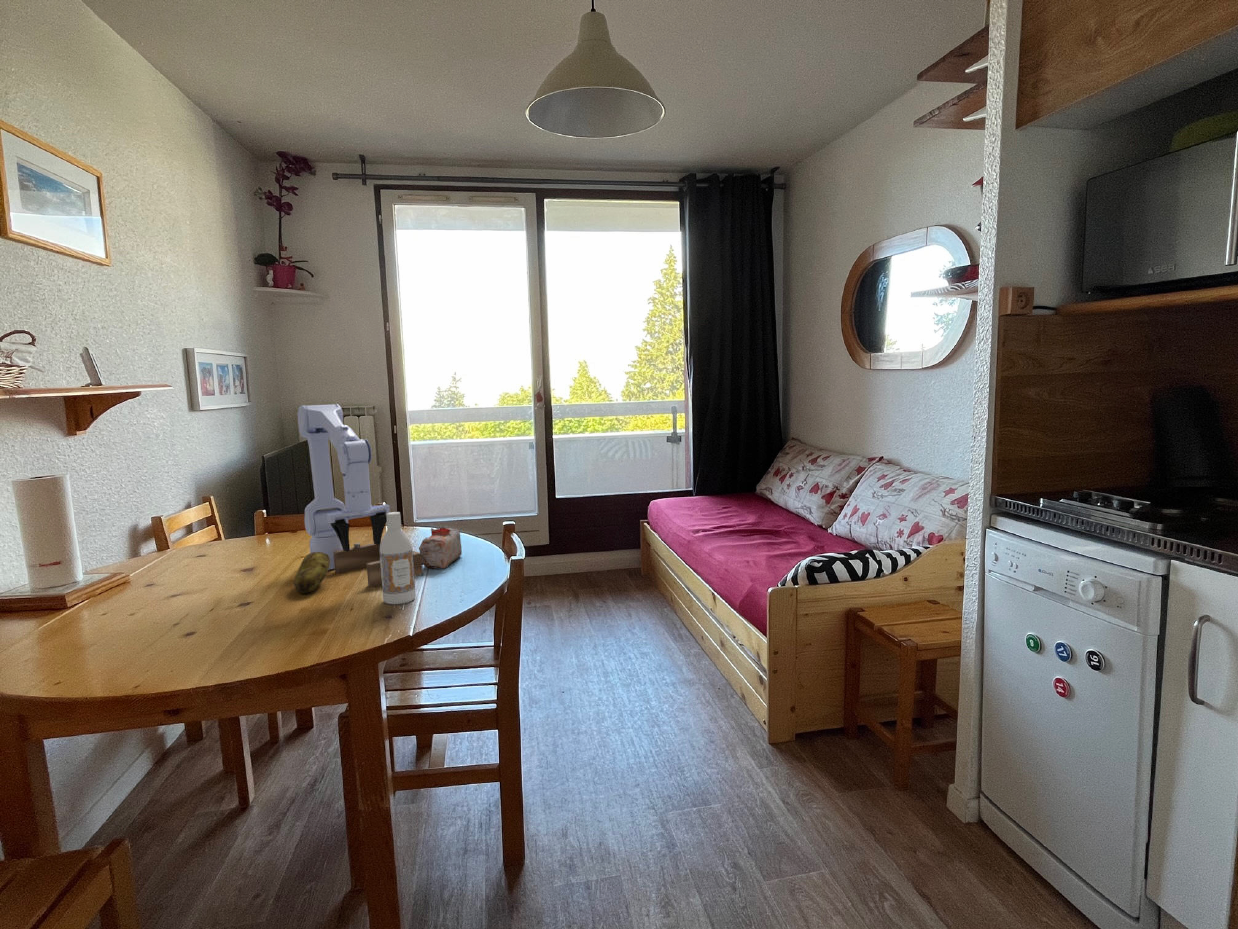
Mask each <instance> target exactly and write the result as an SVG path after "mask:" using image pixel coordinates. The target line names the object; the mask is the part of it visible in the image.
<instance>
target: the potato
mask: <svg viewBox="0 0 1238 929" xmlns="http://www.w3.org/2000/svg"><path fill="white" fill-rule="evenodd" d="M329 566H330V558H329V556H328V554H325V553H323V552H313V553H310V552H309V553H308V554H307V555H306V556H304V557H303V559H302V561H301V563H300V566H299V567H298V570H297V572H296V575H295V579H294V582H293V585H294V589H295V590H296V591H298V592H299V593H302V594H308V593H312V592H313V591H314V590H316V589H317V587H318V586H319V585H320V584H321V583H322V582H323V580H324V578H325V577H326V575H327V573H328V571H329V570H328V569H329Z"/></svg>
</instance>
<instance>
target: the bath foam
mask: <svg viewBox="0 0 1238 929" xmlns="http://www.w3.org/2000/svg"><path fill="white" fill-rule="evenodd" d="M386 516H387V522H386V526H387V530H386V531H385V533H384V535H383V536H382V538H381V544H380V565H381V577H382V585H381V588H382V589H381V590H382V599H383V602H384V603H385V604H388V605H402V604H406V603H410V602H412V601H413V600H415V598H416V582H415V581H416V580H415V576H414V565H413V551H414V550H413V546H412V541H411V539H410V538H409V536H408V535H407V534H406V532H405V531H404V529H402V520H401V519H402V518H401V517H402V516H401V512H400V511H393V512H391V511H390V513H386Z"/></svg>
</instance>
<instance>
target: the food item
mask: <svg viewBox="0 0 1238 929" xmlns="http://www.w3.org/2000/svg"><path fill="white" fill-rule="evenodd" d="M430 530H431V531H430V532H431V535H430V536H429V537H425V538H423V539H422V541H421V543H420V545H419V547H418V551H419V553H421V559H422V566H424V567H425V568H430V569H441V568H442V569H446V568H447V567H448V566H449V565H450V564H452V562H455V561H456V560H457V559H458V558H460V557H461V556H462V541H461V540H462V539H461V533H460V531H459V530H458V529H456V528H451V527H448V528H446V527H444V526H442V527H440V528H436V529H434V527H433V528H432V527H431V528H430Z"/></svg>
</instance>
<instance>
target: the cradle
mask: <svg viewBox="0 0 1238 929" xmlns="http://www.w3.org/2000/svg"><path fill="white" fill-rule="evenodd" d="M412 551H413V565H414V577H416V576H421V575H423V565H422V559H421V553H420V551H419V552H418V551H415V550H412ZM333 554H334V565H335V569H334V572H335V573H336V574H341V573H345V572H350V571H353V570H358V569H363V568H366V572H367V573H366V575H367V586H368V587H371V588H374V587H377V586H382V577H381V565H380V545H376V544H374V542H373V543H368V544H364V545H363V544H362V545H361V543H360V542H355V543H353V547H350V551H343V550H338V551H333Z"/></svg>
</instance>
